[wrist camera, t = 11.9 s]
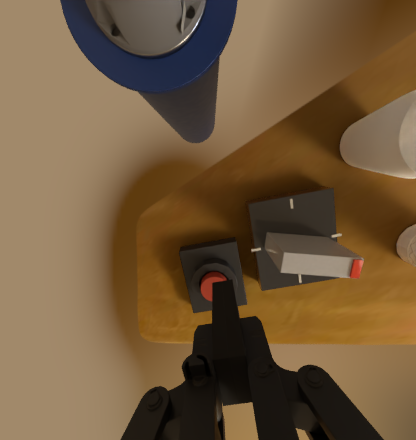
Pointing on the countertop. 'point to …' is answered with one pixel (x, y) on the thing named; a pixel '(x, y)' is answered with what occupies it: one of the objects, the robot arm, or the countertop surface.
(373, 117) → the cup
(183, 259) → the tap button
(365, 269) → the countertop surface
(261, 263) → the dark gray dial base
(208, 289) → the button
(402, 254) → the white cup
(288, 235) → the upright gray tile
